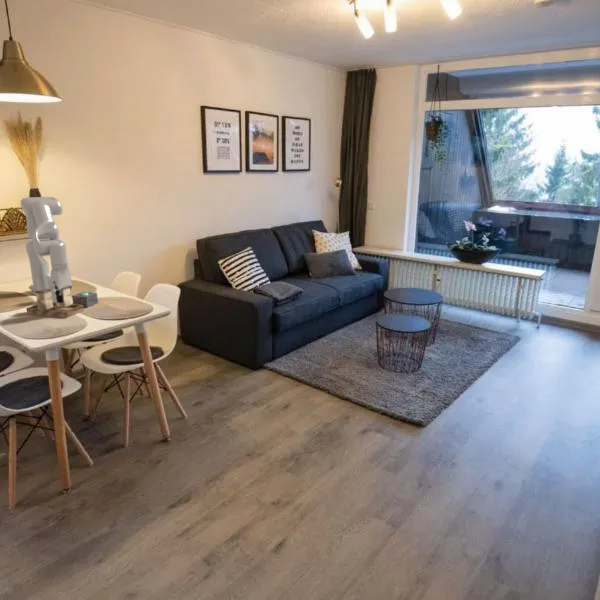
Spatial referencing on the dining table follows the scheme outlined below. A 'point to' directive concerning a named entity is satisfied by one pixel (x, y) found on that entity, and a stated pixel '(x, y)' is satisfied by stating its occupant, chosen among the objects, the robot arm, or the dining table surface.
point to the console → (85, 299)
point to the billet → (65, 297)
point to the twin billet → (44, 298)
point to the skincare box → (48, 277)
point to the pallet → (56, 310)
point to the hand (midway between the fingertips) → (64, 300)
